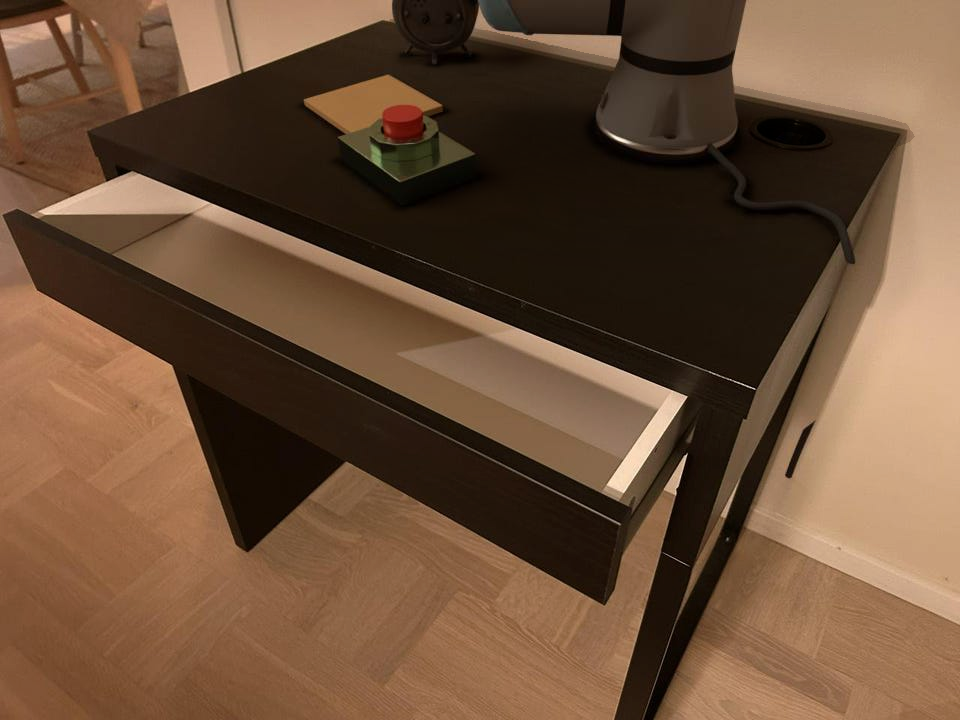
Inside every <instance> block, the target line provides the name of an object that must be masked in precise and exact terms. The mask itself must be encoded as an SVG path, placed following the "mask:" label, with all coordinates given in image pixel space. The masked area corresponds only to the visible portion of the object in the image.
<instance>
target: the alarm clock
mask: <svg viewBox="0 0 960 720" xmlns="http://www.w3.org/2000/svg"><path fill="white" fill-rule="evenodd" d="M479 11H480V6H479V2H477V4H476V5H475V7H473V6H471V5H470V4H469V3H468V2H467V1H466V0H391V13H392V18H393V22H394V24H395V27H396V29H397V31H398V32H399V34H400V36H401V37H402V38H403V39H404V41H406V42H407V43H408V46H407V49H405V50H404V54H405V55H409V54H410V52H411V50H412V49H414V48H415V49H416V50H419V51H421V52H423V53H426V54H431V64H432V65H437V64H438V55H443V54H448V53H452V52H454V51H455V50H458V49H459V48H461V50H462V51H463V52H465V53H466V56H467V57H468V58H470V57H472V52H471V51H470V50H469V48H468V46H467V45H466V42H467V41H468V40H469V39H470V37H471V35H472V34H473V33H474V30H475V26H476V24H477V19H478V16H479Z"/></svg>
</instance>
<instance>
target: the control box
mask: <svg viewBox="0 0 960 720" xmlns="http://www.w3.org/2000/svg"><path fill="white" fill-rule="evenodd" d="M423 128H424V132H423V133H422V134H421V135H419V136H416V137H413V138H407V139H395V138H389V137H387V136H385V135H384V128H383V119H382V118H380V119H378V120H377V121H376V122H374V123H373V124H372V125H371V126H370V127H367V128H364V129H361V130H358V131H355V132H352V133H349V134H343V135H340V136H338V137H337V141H338V148H339V155H340V160H341V162H343V164H346V166H348V167H349V168H351V169H352V170H353V171H354V172H356V173H357V174H359V175H360V176H362V177H363V178H364V179H365V180H366V181H368V182H369V183H370V184H372V185H373V186H374V187H376V188H377V189H379V190H380V191H381V192H383V193H384V194H385V195H387V196H388V197H389V198H391V199H392V200H393V201H395V202H396V203H397V204H399V205H400V206H401V207H404V206H407V205H409V204H412V203H414V202H417V201H419V200H423V199H424V198H428V197H430V196H432V195H434V194H438V193H440V192H442V191H445V190H448V189H450V188H453V187H455V186H458V185H461V184H463V183H466V182H468V181H471V180H474V179H476V177H477V173H476V169H477V167H476V166H477V165H476V153H475V152H473V151H472V150H471V149H468V148H467V147H465V146H464V145H462V144H460V143H459V142H457V141H455V140H454V139H452V138H450V137H449V136H447V135H446V134H444V133H442V132H441V131H439V126H438V121H436V120H435V119H432V118H431V117H430V116H428V117H427V116H423Z"/></svg>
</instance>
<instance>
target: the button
mask: <svg viewBox="0 0 960 720" xmlns="http://www.w3.org/2000/svg"><path fill="white" fill-rule="evenodd" d="M382 119H383V128H384V135H385V136H387V137H389V138H395V139H407V138H413V137H416V136H419V135H421V134H422V133H423V132H424V128H423V113H422V110H421V109H420V108H418V107H416V106H413V105H395V106H391V107H389V108H387V109H385V110H384V111H383V113H382Z"/></svg>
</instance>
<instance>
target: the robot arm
mask: <svg viewBox="0 0 960 720" xmlns="http://www.w3.org/2000/svg"><path fill="white" fill-rule="evenodd" d="M466 1H467V2H468V3H469V4H470V5H471V6H473V7H475V5H476V4H477V2H479V10H480V13H481V14H482V16H483V19H485V22H486V23H487V25H488V26H490V28H492V29H494V30H495V31H499V32H507V33H508V32H509V33H519V34H523V35H525V36H533V35H559V36H560V35H561V36H566V35H567V36H603V37H604V36H605V37H607V36H609V37H610V36H611V37H621V38H620V47H619V54H618V60H617V62H616V64H615V66H614V69H613V72H612V73H611V76H610V78H609V80H608V83H607V86H606V88H605V91H604V94H602V95H601V99H600V102H599V104H598V106H597V109H596V113H595V123H594V124H595V125H594V131H595V134H596V136H597V139H599V140H600V142H602V143H603V144H604V145H605V146H606V147H608V148H609V149H611V150H613V151H615V152H616V153H619V154H622V155H624V156H627V157H629V158H633V159H636V160H641V161H646V162H651V163H660V164H691V163H697V162H702V161H703V162H704V161H706V160H711V159H713V158H714V159H715V160H716V161H717V162H718V163H719V164H720V165H721V166H722V167H724V168H725V169H726V170H727V171H728V173H730V174H731V175H732V176H733V177H734V178H735V180H736V181H737V184H738V185H737V187H736V189H735V191H734V194H733V199H734V201H735V202H736V204H737V205H739V206H740V207H742V208H745V209H747V210H752V211H757V212H759V211H760V212H767V211H780V210H791V209H795V210H796V209H797V210H805V211H808V212H810V213H812V214H816V215H818V216H819V217H822V218H824V219H826V220H828V221H829V222H830V223H831V224H832V225H833V226H834V227H835V229H836V232H837V234H838V237H839V241H840V245H841V248H842V253H843V257H844V260H845V262H846V263H847V264H849V265H855V264H856V257H855V254H854V249H853V246H852V245H853V244H852V242H851V239H850V235H849V232H848V229H847V227H846V225H845V223H844V221H843V220H842V218H841V217H840V216H839V215H837V214H836V213H835V212H833V211H831V210H829V209H827V208H825V207H822V206H821V205H817V204H815V203H813V202H809V201H804V200H781V201H769V202H758V201H752V200H749V199H746V198H745V197H744V196H743V194H744V192H745V190H746V187H747V180H746V177H745V176H744V174H743V173H742V172H741V171H740V169H739V168H738V167H737V166H735V165H734V164H733V163H732V162H731V161H730V160H729V159H728V158H727V157H726V156H725V155H724V153H725V152H727V151H728V150H729V149H730V148H731V147H732V146H733V144H734V141H735V138H736V135H737V134H736V133H737V130H738V124H739V123H738V121H739V120H738V113H737V110H736V98H735V97H736V95H735V85H734V84H735V83H734V73H733V64H734V60H735V55H736V50H737V46H738V41H739V36H740V32H741V27H742V22H743V18H744V13H745V8H746V3H747V0H466ZM816 422H817V421H816V419H815V420H813V421H812V422H811V423H809V424H808V425H807V426H805V427H804V428H803V429H802V431H801V433H800V436H799V438H798V441H797V443H796V445H795V448H794V450H793V453H792V455H791V458H790V460H789V463H788V465H787V468H786V471H785V474H784V476H785V478H787V479H791V478H793V475H794V473H795V470H796V467H797V465H798V462H799V459H800V457H801V454H802V453H803V450H804V447H805V445H806V443H807V440H808V438H809V436H810V434H811V432H812V430H813V428H814V425H815V423H816Z"/></svg>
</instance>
